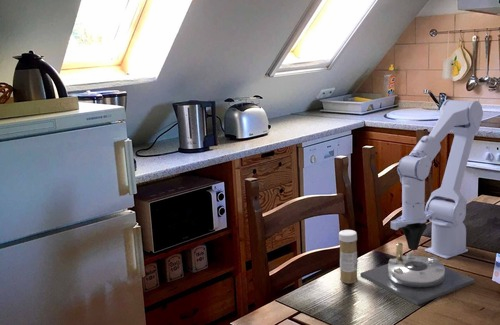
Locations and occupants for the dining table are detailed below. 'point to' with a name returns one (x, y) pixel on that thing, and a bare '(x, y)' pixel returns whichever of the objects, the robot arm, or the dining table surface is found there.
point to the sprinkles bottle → (348, 256)
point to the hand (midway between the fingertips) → (413, 248)
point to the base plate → (417, 293)
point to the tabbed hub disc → (415, 269)
